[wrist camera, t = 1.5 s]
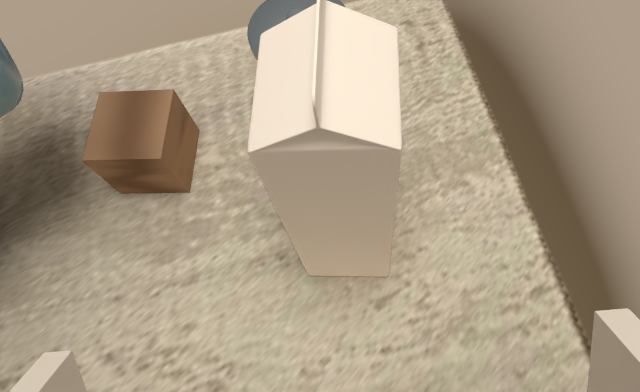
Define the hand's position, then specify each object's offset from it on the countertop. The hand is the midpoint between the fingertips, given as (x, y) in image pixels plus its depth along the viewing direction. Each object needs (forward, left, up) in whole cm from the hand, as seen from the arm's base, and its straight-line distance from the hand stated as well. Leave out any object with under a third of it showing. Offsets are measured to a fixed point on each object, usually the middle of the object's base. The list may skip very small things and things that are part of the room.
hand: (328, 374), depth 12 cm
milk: (-3, +11, -22) cm, 24 cm away
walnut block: (-21, +13, -22) cm, 33 cm away
